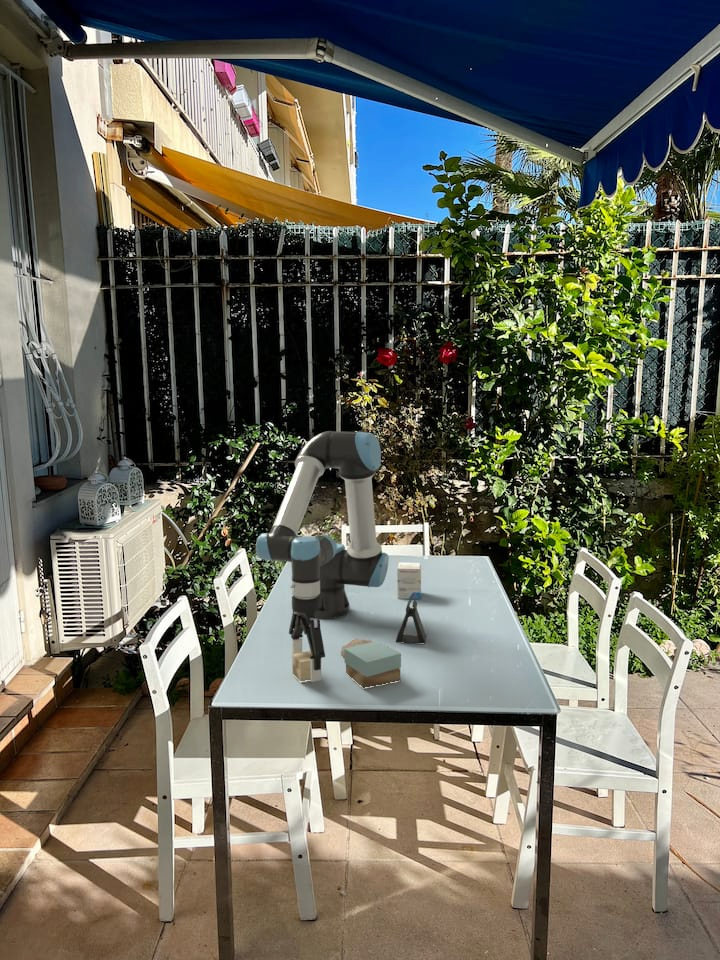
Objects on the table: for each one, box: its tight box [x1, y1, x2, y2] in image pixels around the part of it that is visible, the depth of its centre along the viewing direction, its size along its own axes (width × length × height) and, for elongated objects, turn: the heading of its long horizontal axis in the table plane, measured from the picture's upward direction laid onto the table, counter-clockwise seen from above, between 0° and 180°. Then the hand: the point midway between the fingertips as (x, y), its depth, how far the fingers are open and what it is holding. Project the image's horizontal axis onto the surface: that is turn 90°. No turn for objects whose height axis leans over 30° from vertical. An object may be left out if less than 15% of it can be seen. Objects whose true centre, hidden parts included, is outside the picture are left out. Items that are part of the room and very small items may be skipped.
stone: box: [340, 638, 373, 659], centre depth 211 cm, size 12×12×3 cm
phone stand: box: [395, 599, 427, 644], centre depth 219 cm, size 9×6×12 cm, turn 80°
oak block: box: [291, 650, 312, 681], centre depth 193 cm, size 6×6×6 cm
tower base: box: [345, 663, 401, 688], centre depth 193 cm, size 11×11×4 cm
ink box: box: [396, 562, 422, 600], centre depth 262 cm, size 9×8×12 cm
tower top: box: [344, 640, 402, 677], centre depth 193 cm, size 11×11×4 cm
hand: (306, 670), depth 193 cm, fingers open, 13 cm apart
